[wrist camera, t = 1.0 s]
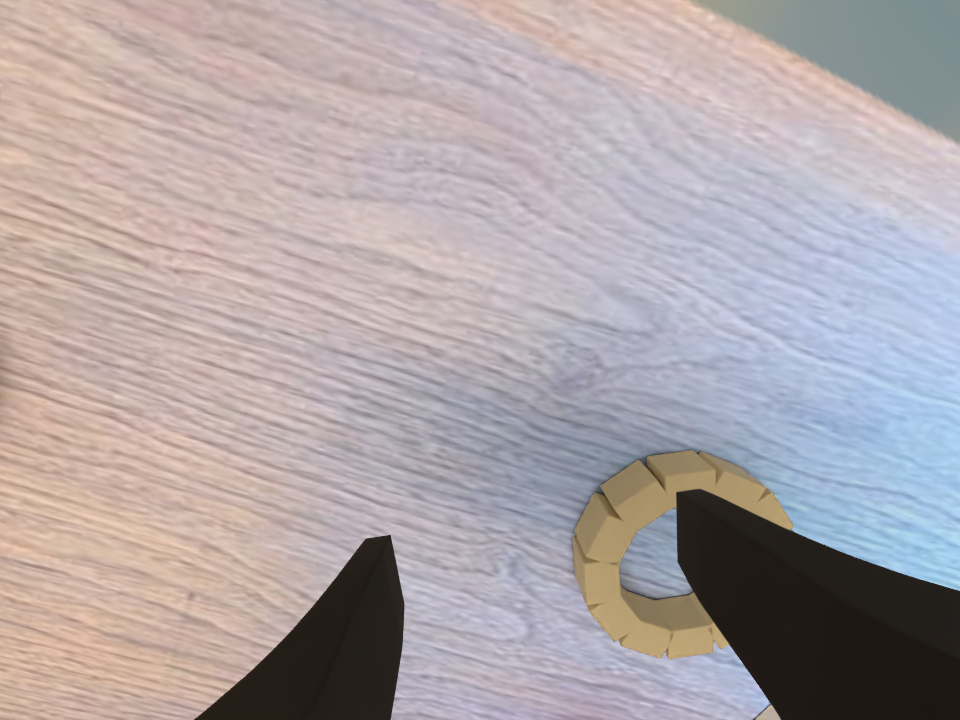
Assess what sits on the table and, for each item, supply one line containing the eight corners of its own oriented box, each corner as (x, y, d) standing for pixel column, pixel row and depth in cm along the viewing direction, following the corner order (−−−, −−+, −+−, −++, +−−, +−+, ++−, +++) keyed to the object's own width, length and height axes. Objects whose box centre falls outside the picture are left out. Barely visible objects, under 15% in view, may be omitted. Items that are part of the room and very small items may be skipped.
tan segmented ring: (762, 609, 24) (790, 641, 22) (579, 636, 24) (591, 672, 22) (770, 438, 22) (801, 457, 20) (566, 466, 21) (578, 489, 19)
